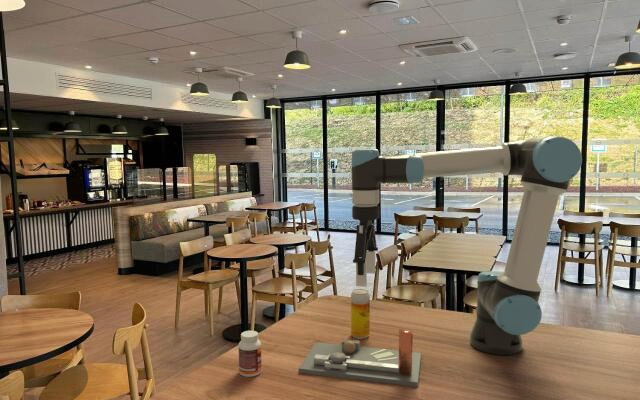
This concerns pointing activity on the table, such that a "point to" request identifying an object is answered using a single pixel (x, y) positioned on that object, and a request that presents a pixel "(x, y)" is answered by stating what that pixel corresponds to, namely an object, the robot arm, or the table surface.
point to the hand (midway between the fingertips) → (366, 279)
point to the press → (361, 354)
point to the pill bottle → (250, 354)
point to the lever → (402, 367)
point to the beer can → (360, 313)
